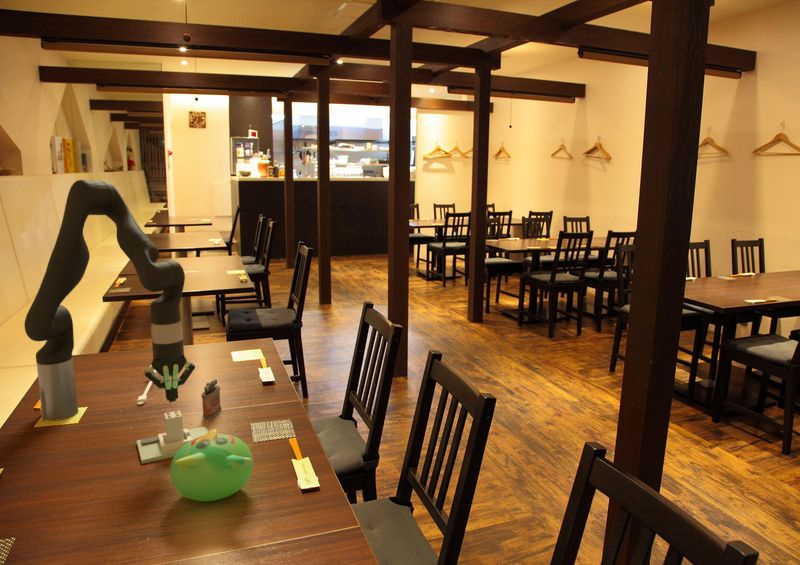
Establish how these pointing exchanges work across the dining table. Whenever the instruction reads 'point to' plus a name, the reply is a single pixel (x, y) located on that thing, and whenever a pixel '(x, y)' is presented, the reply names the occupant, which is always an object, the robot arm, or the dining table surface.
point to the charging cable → (147, 389)
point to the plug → (173, 426)
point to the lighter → (211, 400)
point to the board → (165, 445)
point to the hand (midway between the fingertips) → (172, 400)
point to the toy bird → (211, 467)
